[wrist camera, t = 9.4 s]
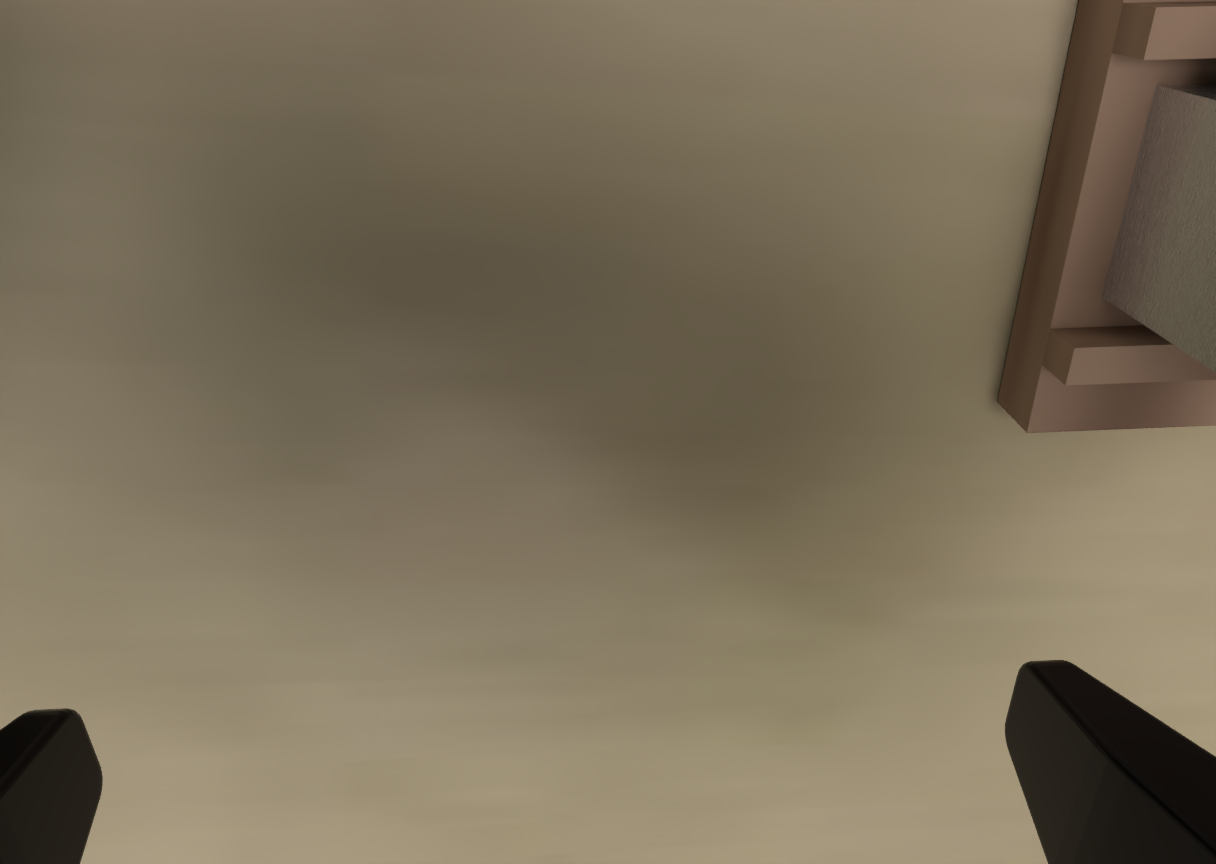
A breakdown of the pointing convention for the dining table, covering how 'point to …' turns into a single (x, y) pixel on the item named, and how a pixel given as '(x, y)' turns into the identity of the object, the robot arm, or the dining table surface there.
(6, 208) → the dining table surface
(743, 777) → the dining table surface
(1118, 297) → the block
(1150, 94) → the rail
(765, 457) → the dining table surface
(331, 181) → the dining table surface
